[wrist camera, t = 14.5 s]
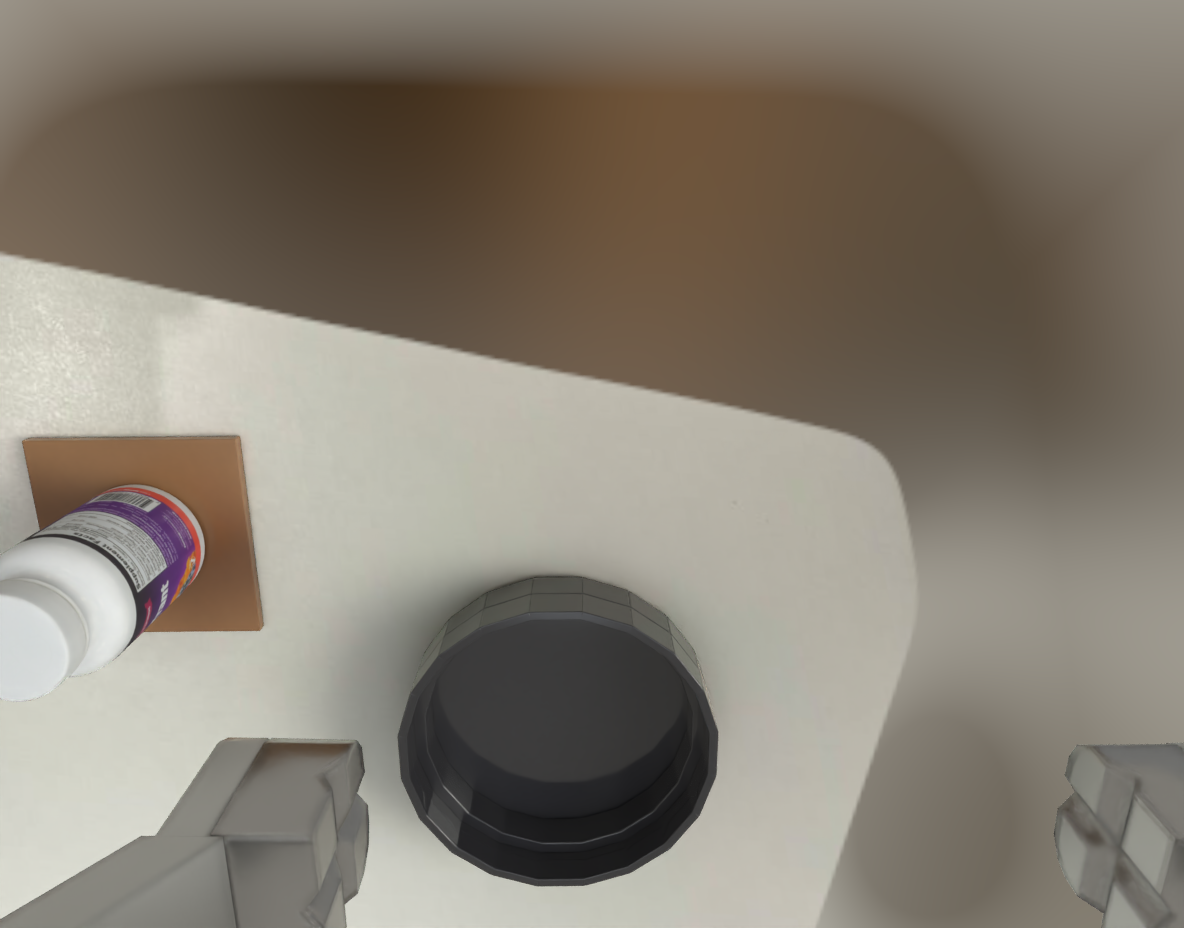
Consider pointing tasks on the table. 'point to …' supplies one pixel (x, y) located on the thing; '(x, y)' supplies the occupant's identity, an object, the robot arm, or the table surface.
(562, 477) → the table surface
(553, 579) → the pan
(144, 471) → the copper plate
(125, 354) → the table surface
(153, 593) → the pill bottle
